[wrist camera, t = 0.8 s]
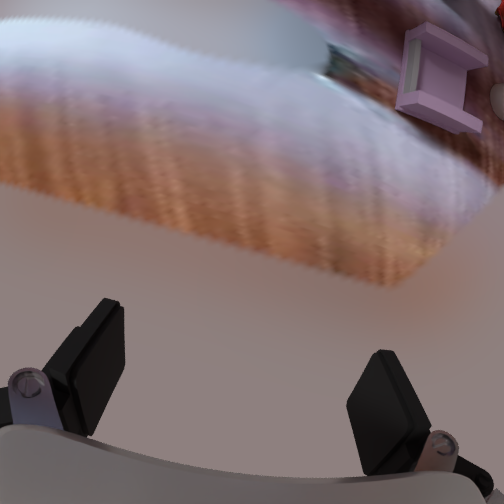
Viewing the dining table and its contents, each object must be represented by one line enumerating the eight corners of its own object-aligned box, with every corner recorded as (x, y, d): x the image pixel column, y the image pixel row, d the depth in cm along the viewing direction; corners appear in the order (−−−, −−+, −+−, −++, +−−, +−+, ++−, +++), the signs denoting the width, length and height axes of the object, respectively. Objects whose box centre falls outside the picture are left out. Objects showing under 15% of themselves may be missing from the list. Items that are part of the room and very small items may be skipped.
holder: (405, 31, 29) (426, 18, 24) (463, 60, 30) (488, 53, 24) (394, 109, 34) (417, 106, 28) (454, 134, 34) (480, 136, 28)
